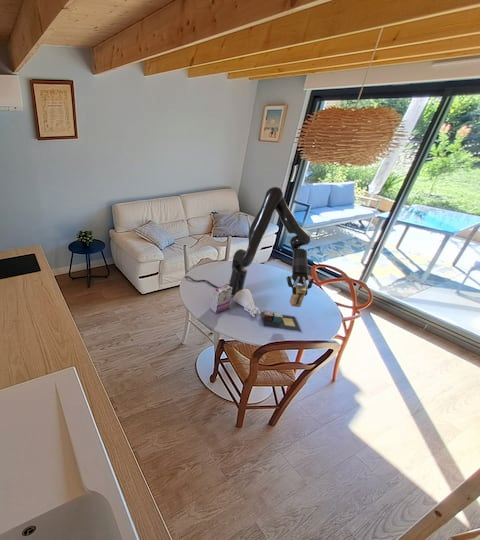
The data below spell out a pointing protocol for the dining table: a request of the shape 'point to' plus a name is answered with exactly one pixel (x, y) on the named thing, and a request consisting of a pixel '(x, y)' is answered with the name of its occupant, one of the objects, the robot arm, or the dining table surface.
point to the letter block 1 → (267, 316)
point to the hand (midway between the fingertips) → (299, 294)
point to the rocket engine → (246, 301)
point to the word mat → (284, 323)
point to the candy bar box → (221, 298)
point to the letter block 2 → (277, 317)
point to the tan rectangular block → (298, 296)
